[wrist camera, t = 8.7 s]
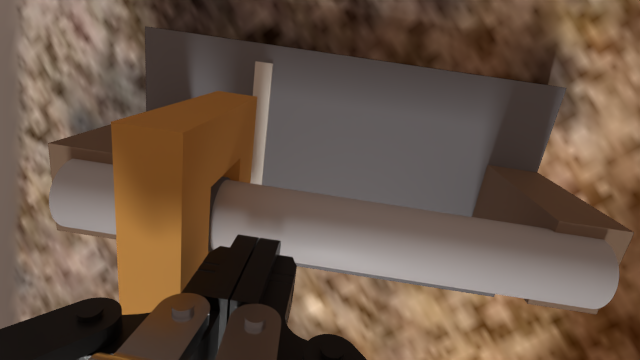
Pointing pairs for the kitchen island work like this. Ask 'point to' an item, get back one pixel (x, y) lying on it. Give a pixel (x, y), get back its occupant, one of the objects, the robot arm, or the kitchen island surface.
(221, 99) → the orange square ring
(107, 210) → the pipe stand
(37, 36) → the kitchen island surface
